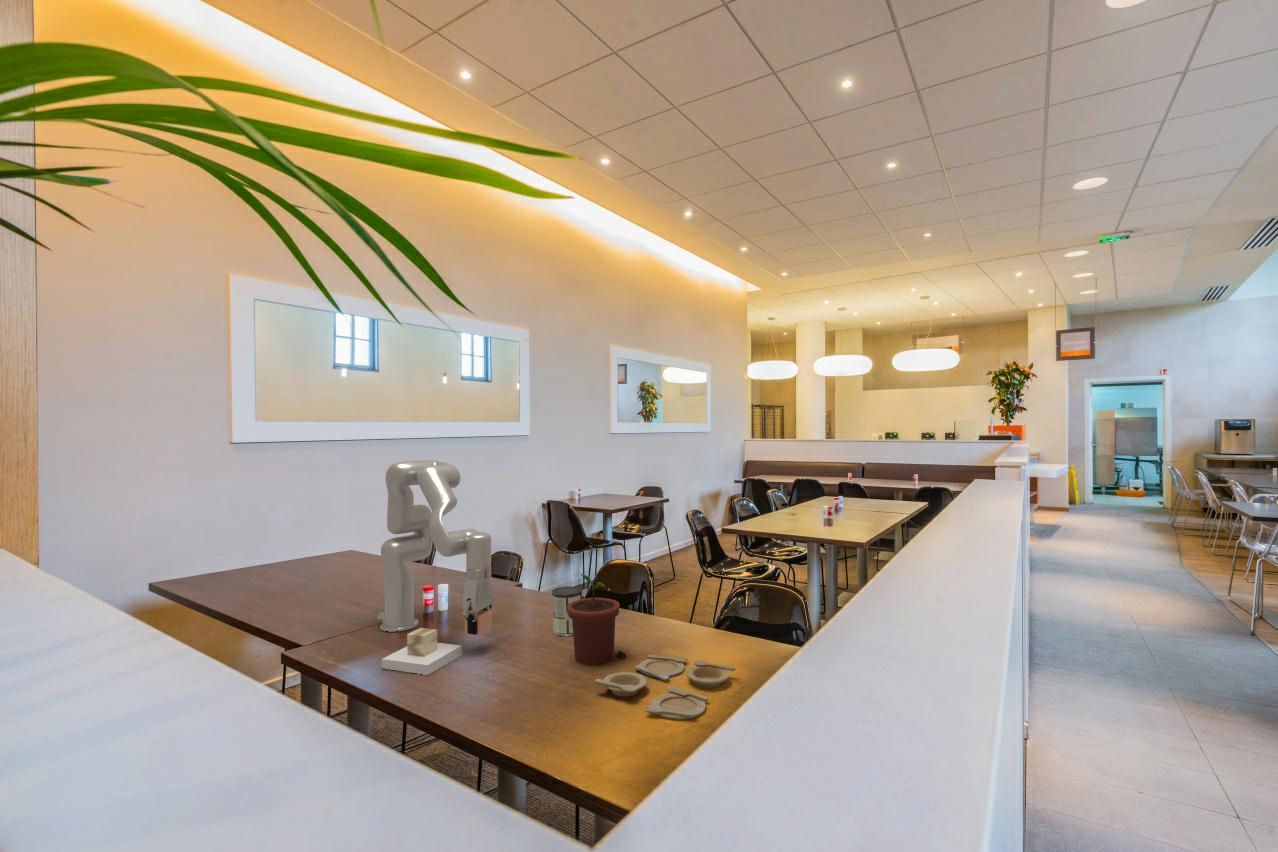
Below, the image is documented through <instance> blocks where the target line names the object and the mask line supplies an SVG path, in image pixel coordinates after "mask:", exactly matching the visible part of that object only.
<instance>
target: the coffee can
mask: <svg viewBox="0 0 1278 852" xmlns="http://www.w3.org/2000/svg"><path fill="white" fill-rule="evenodd" d="M551 596H552V600H551V601H552V634H553V633H555V634H558V635H563V636H562V637H573V636H572V635H573V626H572V619H571V618H569V616H568V608H567V606H568V604H569V603H571V602H573V601H576V600H580V599H583V589H582V588H581V587H578V586H560V587H556V588H554V589H552V590H551ZM555 634H554V635H555ZM564 635H565V636H564ZM569 635H571V636H569Z"/></svg>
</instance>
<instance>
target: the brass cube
mask: <svg viewBox="0 0 1278 852" xmlns="http://www.w3.org/2000/svg"><path fill="white" fill-rule="evenodd" d="M406 636H407V638H406V641H407V644H406V645H407V646H406V647H407V649H408V655H414V656H422V657H425V656H427V655H429V654H430V653H432V652H434V651H436V650H437V643H438V629H433V628H424V627H420V628H417V629H416V630H413V631H411V632H409V633H407V634H406Z"/></svg>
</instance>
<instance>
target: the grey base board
mask: <svg viewBox="0 0 1278 852" xmlns="http://www.w3.org/2000/svg"><path fill="white" fill-rule="evenodd" d="M462 647H463V645H461V644H460V645H459V644H452V643H443V642H437V650H436V651H434V652H432V653H430V654H429V655H427V656H425V657H422V656H414V655H408V649H407V646H404V647H402V648H401V649H398V650H397V651H395V652H392V653H391V654H389V655H387V656H385V657H383V658H381V669H382V668H385V669H391V670H398V671H404V672H412V673H417V674H416V675H419V674H423V675H422V676H426V675H428V674H430V673H431V674H433V673H435V672H436V671H438V670H439V668H440V669H441V668H443V667H445V666H446V665H448V664H450V663H451V662H453V661H455V660H456V659H458V658H460V657H461V656H462V653H463V651H462V650H463V649H462ZM449 662H450V663H449ZM444 665H445V666H444ZM442 666H443V667H442ZM437 669H438V670H437ZM435 670H436V671H435ZM434 671H435V672H434ZM404 672H403V673H404ZM432 672H433V673H432ZM431 674H430V675H431ZM428 676H429V675H428Z"/></svg>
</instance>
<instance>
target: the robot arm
mask: <svg viewBox="0 0 1278 852" xmlns="http://www.w3.org/2000/svg"><path fill="white" fill-rule="evenodd" d="M460 483H461V474H460V471H459V469H458V468H457V467H456V466H455V465H454V464H452V463H448V462H443V461H439V460H434V459H425V460H404V461H399V462H395V463H392V464H391V465H390V466H388V467H387V470H386V472H385V485H386V490H387V508H386V509H387V513H386V528H387V531H389V533H391V534H392V535H401V534H408V533H413V534H409V535H403V536H402V535H401V536H396V537H392V538H390V539H387V540H386V541H384V542H383V543H382V545H381V548H380V557H381V560H382V567H383V577H384V578H383V580H384V581H383V584H384V611H383V612H380V613H379V614H378V615H377V617H376V618H377V620H379V621H381V620H382V623H381V624H380V627H379V629H380V630H381V631H382V632H386V631H388V632H387V633H397V632H396V631H398V632H404V631H408V630H410V629H411V630H412V629H414V628H416V627H417V626H418V625H419V620H418V618H416V617H415V609H414V608H415V607H414V606H415V605H414V603H415V602H414V601H415V600H414V599H415V598H414V575H413V572H412V570H411V569H410V567H409V566H408V564H409V563H412V562H416V561H417V562H418V561H421V560H425V559H427V558H428V557H429V556H430V554H431V552H432V546H433V545H434V547H435V549H436V551H437V552H438V554H440V555H441V556H443V557H446V558H447V557H448V558H451V557H454V556H459V555H463V554H465V555H466V556H465V557H466V558H465V559H466V560H465V561H466V562H465V564H466V565H465V567H466V568H465V570H466V571H465V578H466V579H465V581H464V585H463V592H462V593H463V594H462V595H463V596H462V616H463V617H464V619H465V618H466V621H467V633H468V634H473V635H472V636H474V635H476V634H477V621H476V618H477V613H478V611H480V610H487V611H491V610H492V607H493V606H492V605H493V603H494V600H495V598H494V597H493V580H492V536H491V535H490V534H489V533H487V532H482V531H481V532H480V531H478V530H476V529H474V528H466V529H458V530H454V531H450V532H449V531H448V530H447V529H446V527H445V525H444V523H443V517H444V516H445V515H447V514H449V513H450V512H452V511H453V510H454V509H455V508H456V506H457V503H458V498H457V497H456V495H455V493H454V491H453V490H452V489H455V488H457V487H458V486H459V485H460ZM411 486H419V488H420V491H422V494H423V496H424V497H425V500H426V501H427V503H428V505H429V506H427V505H426V504H414V501H415V500H414V499H415V495H414V492H413V490H412V488H411ZM471 613H474V615H473V616H472V615H471Z"/></svg>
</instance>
